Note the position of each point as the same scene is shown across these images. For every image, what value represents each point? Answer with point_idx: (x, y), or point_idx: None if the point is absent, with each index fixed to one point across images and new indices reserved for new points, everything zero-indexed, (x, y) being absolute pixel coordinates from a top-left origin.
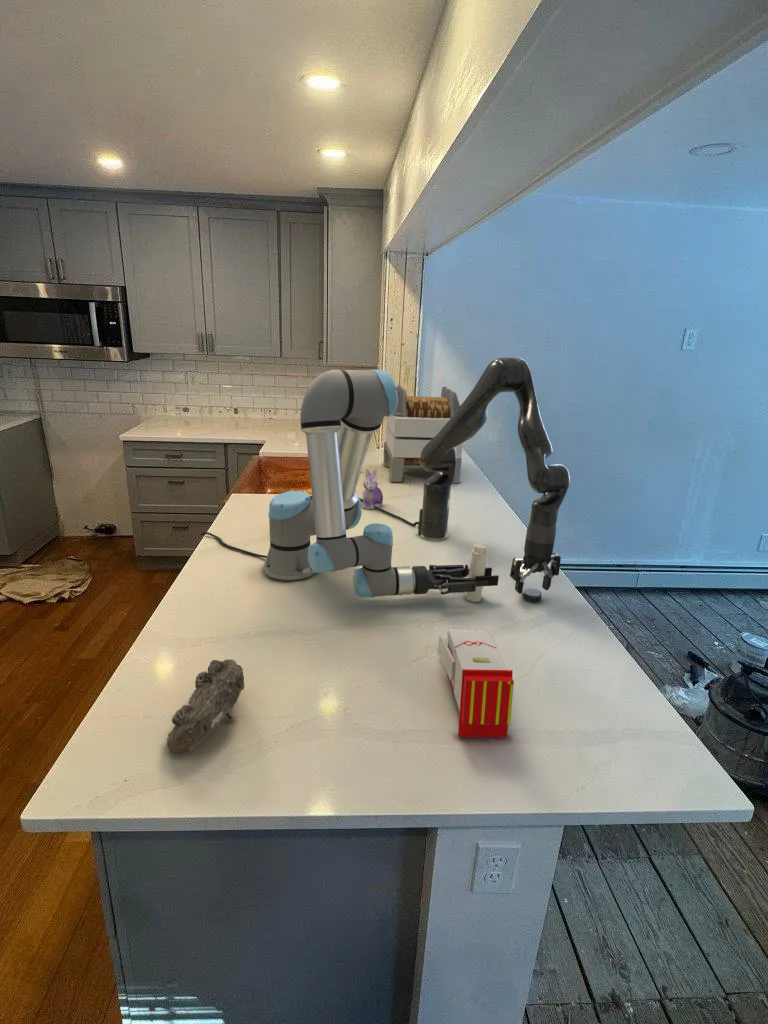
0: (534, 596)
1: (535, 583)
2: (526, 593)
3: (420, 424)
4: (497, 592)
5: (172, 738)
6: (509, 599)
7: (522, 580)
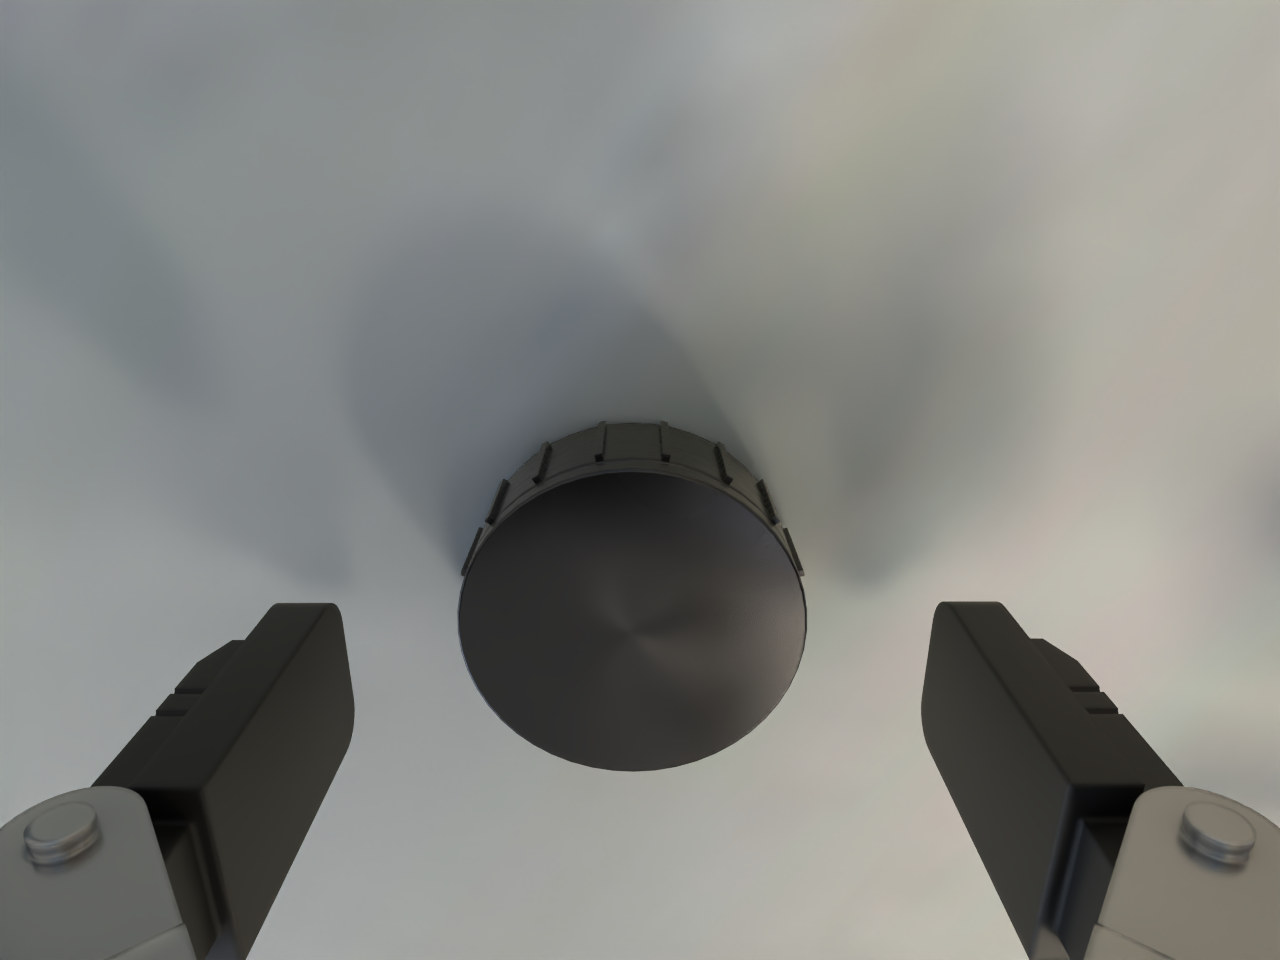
0: (700, 478)
1: (304, 925)
2: (786, 617)
3: None
4: None
5: None
6: None
7: (1206, 823)
